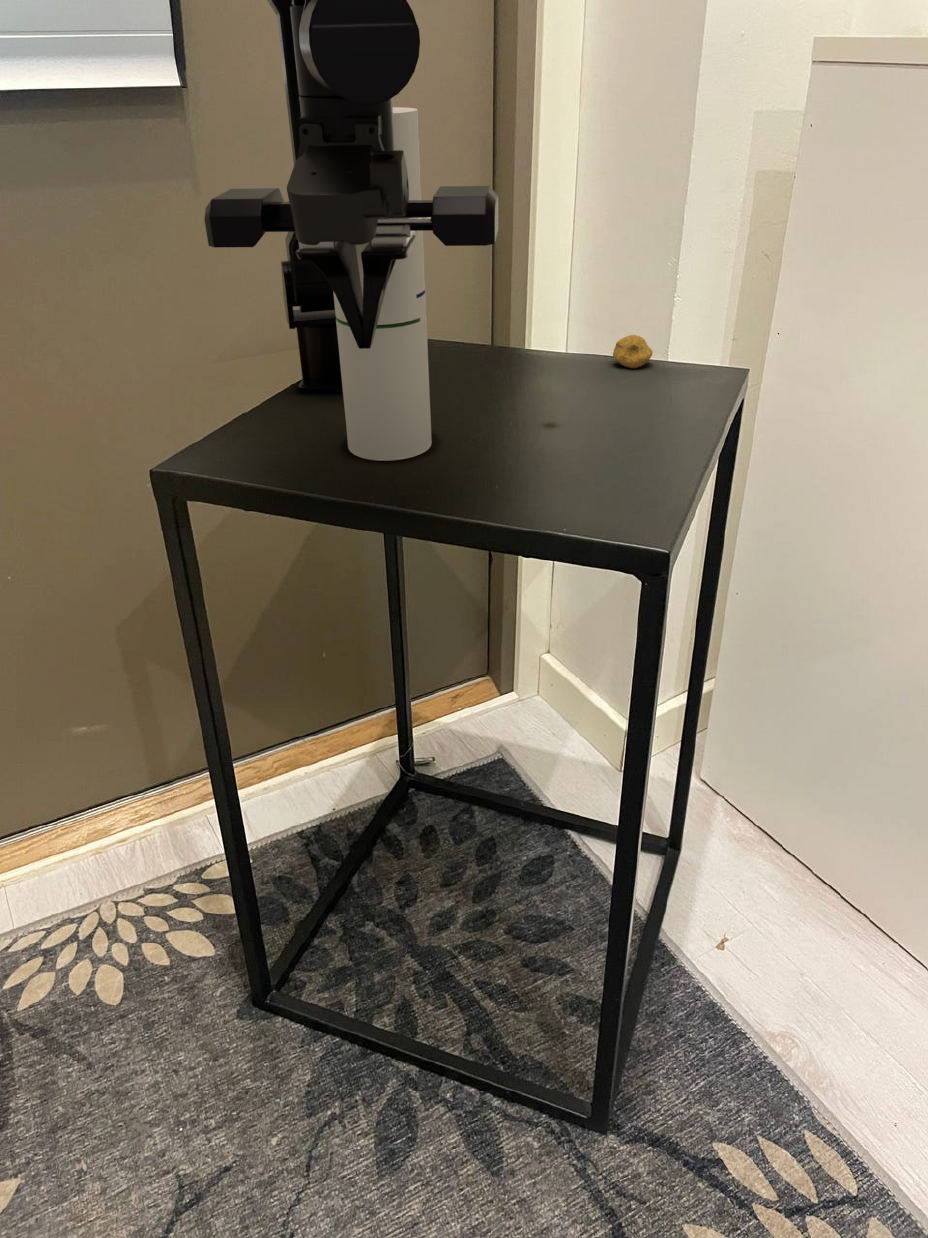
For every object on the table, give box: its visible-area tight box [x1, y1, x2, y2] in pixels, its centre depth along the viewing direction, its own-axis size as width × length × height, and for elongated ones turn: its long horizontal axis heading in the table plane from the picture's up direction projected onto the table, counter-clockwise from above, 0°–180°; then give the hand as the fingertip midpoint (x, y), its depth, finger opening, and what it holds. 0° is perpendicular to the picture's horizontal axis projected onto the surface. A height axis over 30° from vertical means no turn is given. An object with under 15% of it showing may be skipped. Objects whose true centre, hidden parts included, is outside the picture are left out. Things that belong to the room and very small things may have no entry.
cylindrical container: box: [333, 106, 433, 462], centre depth 72 cm, size 7×7×25 cm
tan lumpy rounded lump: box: [612, 334, 654, 369], centre depth 95 cm, size 4×4×3 cm
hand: (365, 347), depth 65 cm, fingers closed
